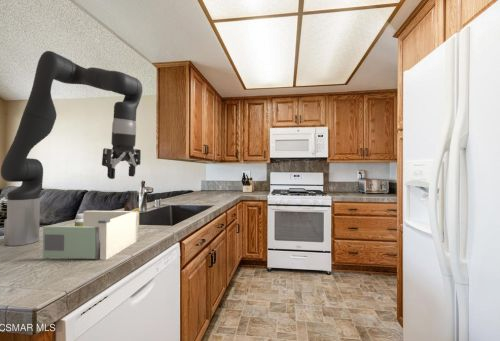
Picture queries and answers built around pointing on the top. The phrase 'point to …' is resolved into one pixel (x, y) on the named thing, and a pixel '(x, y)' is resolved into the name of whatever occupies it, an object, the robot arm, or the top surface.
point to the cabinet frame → (113, 229)
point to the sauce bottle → (132, 203)
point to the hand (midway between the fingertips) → (121, 177)
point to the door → (70, 242)
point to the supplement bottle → (79, 220)
